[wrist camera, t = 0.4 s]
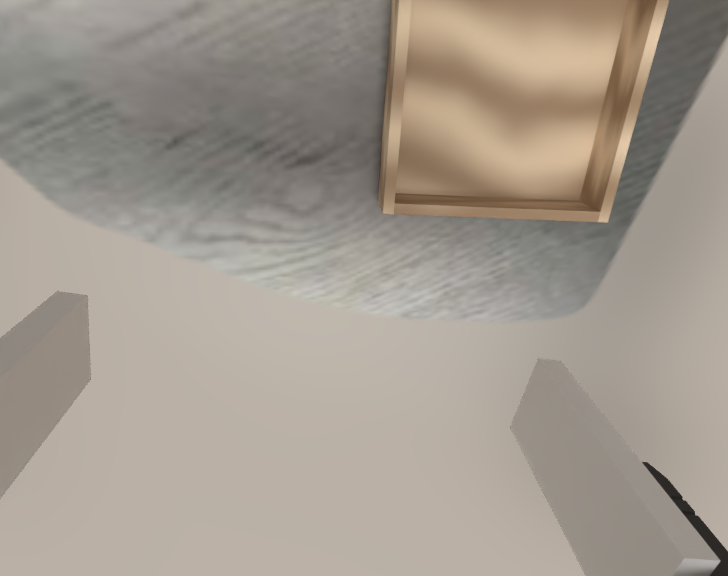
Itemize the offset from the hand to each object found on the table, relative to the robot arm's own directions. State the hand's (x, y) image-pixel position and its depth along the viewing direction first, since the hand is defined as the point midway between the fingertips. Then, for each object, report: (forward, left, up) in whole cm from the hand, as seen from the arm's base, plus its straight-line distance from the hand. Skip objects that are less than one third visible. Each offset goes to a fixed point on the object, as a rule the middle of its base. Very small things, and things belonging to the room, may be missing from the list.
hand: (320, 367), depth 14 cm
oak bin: (-7, +13, -26) cm, 30 cm away
